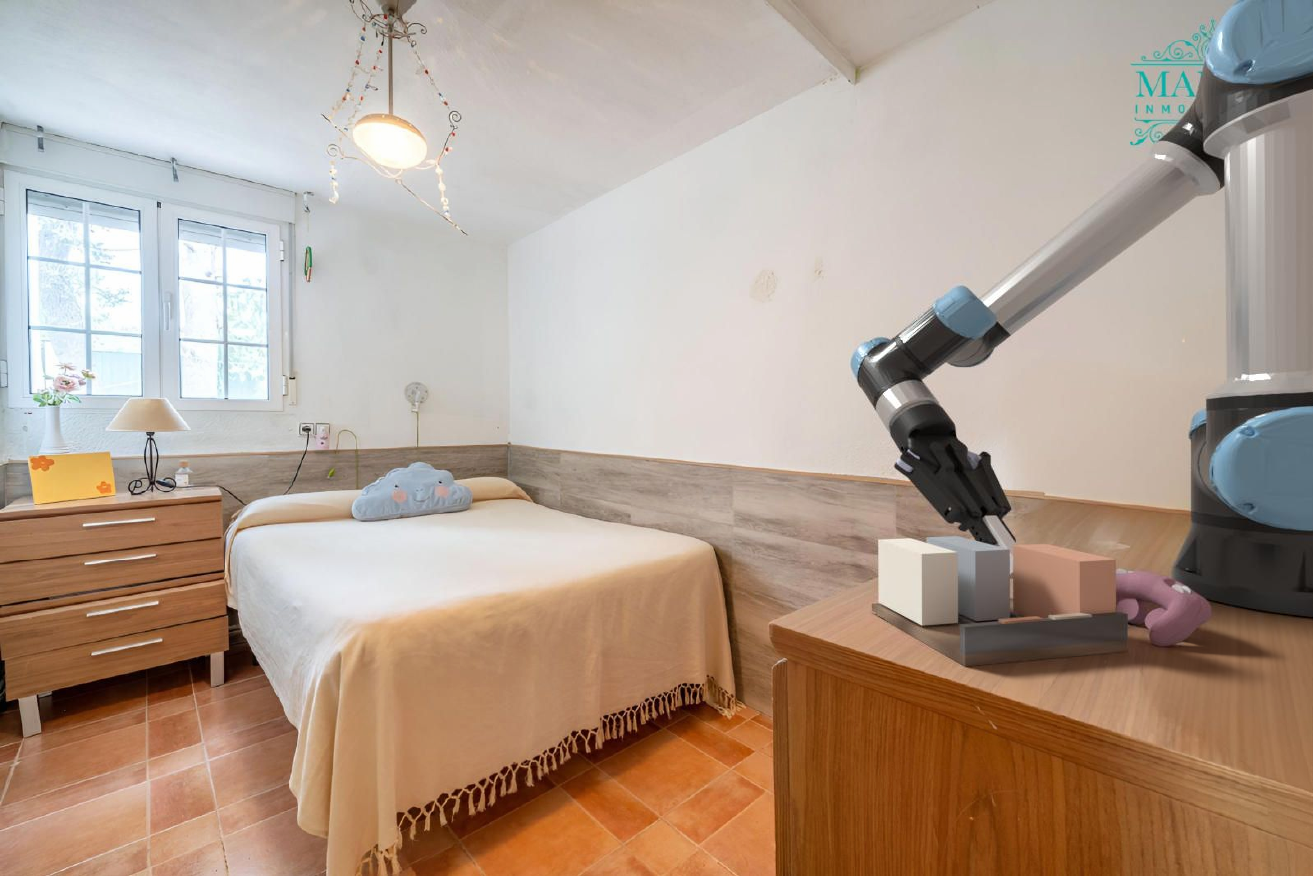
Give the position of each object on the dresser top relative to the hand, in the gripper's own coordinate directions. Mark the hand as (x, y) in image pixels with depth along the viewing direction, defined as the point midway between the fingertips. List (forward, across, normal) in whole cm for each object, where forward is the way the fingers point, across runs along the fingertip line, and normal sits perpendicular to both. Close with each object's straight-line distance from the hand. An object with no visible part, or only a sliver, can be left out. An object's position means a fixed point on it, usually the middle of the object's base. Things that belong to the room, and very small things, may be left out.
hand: (1017, 572), depth 55 cm
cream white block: (+2, +12, -3) cm, 12 cm away
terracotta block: (+6, 0, +1) cm, 6 cm away
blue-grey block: (+2, +6, -3) cm, 7 cm away
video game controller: (+7, -10, 0) cm, 12 cm away
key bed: (+5, +6, -2) cm, 8 cm away
